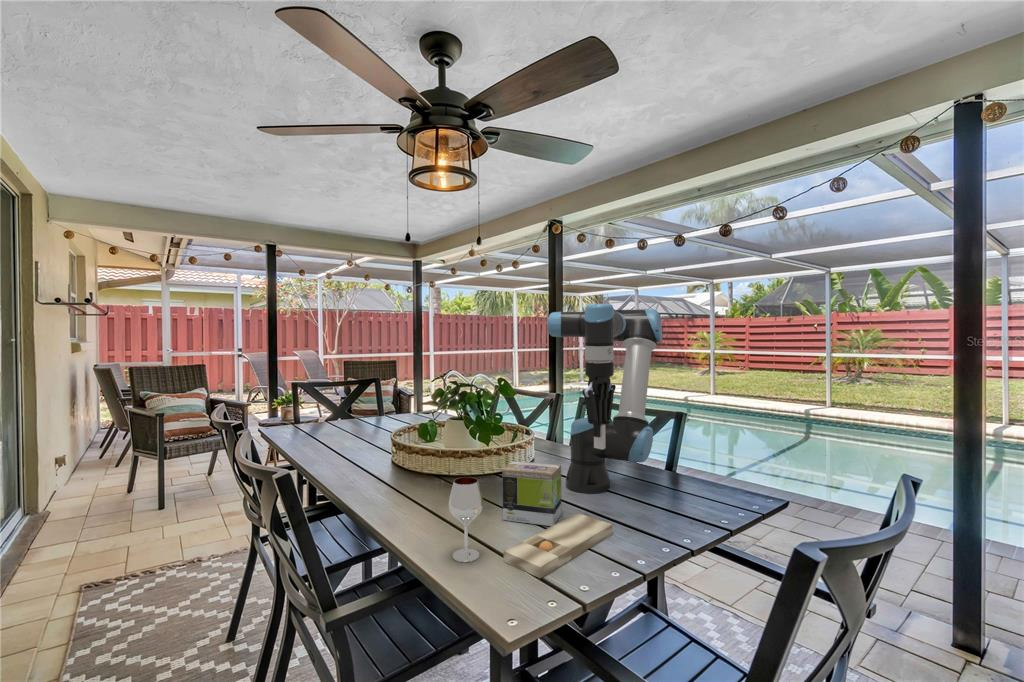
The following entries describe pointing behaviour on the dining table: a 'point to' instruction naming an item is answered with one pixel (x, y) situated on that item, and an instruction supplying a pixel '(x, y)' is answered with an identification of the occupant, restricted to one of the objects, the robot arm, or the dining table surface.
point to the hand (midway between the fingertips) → (599, 447)
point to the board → (557, 544)
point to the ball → (546, 546)
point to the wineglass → (465, 511)
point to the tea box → (532, 492)
